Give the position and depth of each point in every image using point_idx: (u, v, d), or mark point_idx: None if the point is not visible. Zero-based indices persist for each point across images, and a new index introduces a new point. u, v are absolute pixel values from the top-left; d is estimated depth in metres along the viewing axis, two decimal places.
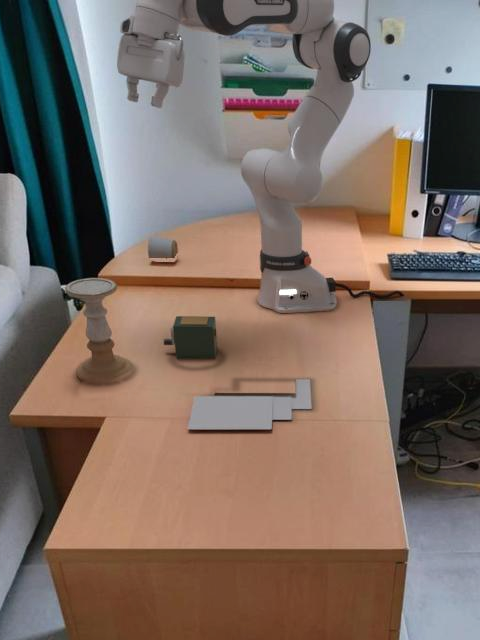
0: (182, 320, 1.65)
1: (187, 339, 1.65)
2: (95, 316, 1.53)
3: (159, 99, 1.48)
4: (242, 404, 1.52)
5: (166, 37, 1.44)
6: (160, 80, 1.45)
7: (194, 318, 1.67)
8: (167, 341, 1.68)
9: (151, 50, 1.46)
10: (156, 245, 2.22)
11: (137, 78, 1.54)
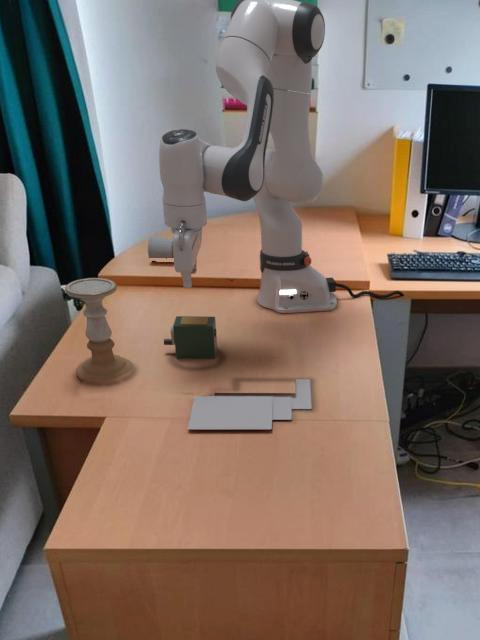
0: (182, 320, 1.65)
1: (187, 339, 1.65)
2: (95, 316, 1.53)
3: (187, 281, 1.55)
4: (242, 404, 1.52)
5: None
6: None
7: (194, 318, 1.67)
8: (167, 341, 1.68)
9: None
10: (156, 245, 2.22)
11: None
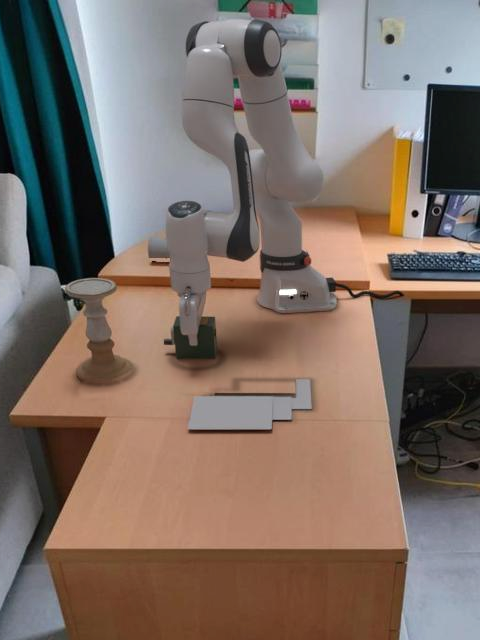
0: None
1: (187, 339, 1.65)
2: (95, 316, 1.53)
3: (193, 339, 1.64)
4: (242, 404, 1.52)
5: None
6: None
7: None
8: (167, 341, 1.68)
9: None
10: (156, 245, 2.22)
11: None
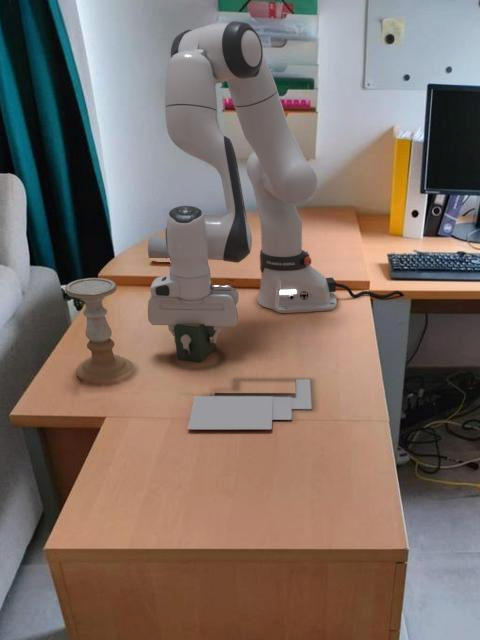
0: (189, 324, 1.63)
1: (204, 338, 1.66)
2: (95, 316, 1.53)
3: None
4: (242, 404, 1.52)
5: (214, 289, 1.61)
6: (225, 325, 1.65)
7: None
8: (186, 351, 1.63)
9: (201, 304, 1.62)
10: (156, 245, 2.22)
11: None
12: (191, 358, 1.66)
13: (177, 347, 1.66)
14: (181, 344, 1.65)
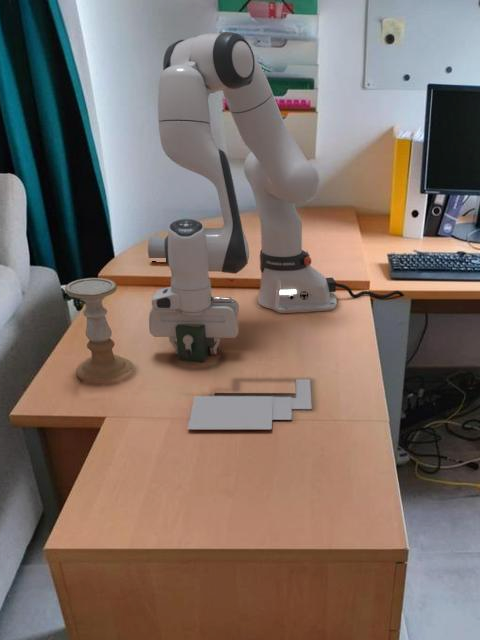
0: (191, 324, 1.63)
1: (205, 338, 1.66)
2: (95, 316, 1.53)
3: (216, 347, 1.69)
4: (242, 404, 1.52)
5: (214, 301, 1.63)
6: (226, 337, 1.66)
7: None
8: (189, 351, 1.63)
9: (202, 315, 1.63)
10: (156, 245, 2.22)
11: None
12: (193, 358, 1.66)
13: (178, 348, 1.65)
14: (183, 344, 1.65)
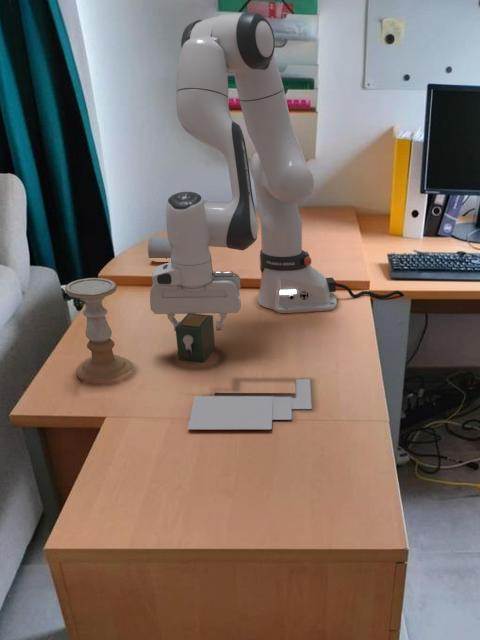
0: (191, 324, 1.63)
1: (205, 338, 1.66)
2: (95, 316, 1.53)
3: (222, 323, 1.67)
4: (242, 404, 1.52)
5: (215, 276, 1.60)
6: (229, 312, 1.64)
7: (189, 320, 1.66)
8: (189, 351, 1.63)
9: (204, 291, 1.60)
10: (156, 245, 2.22)
11: None
12: (193, 358, 1.66)
13: (179, 348, 1.65)
14: (183, 344, 1.65)
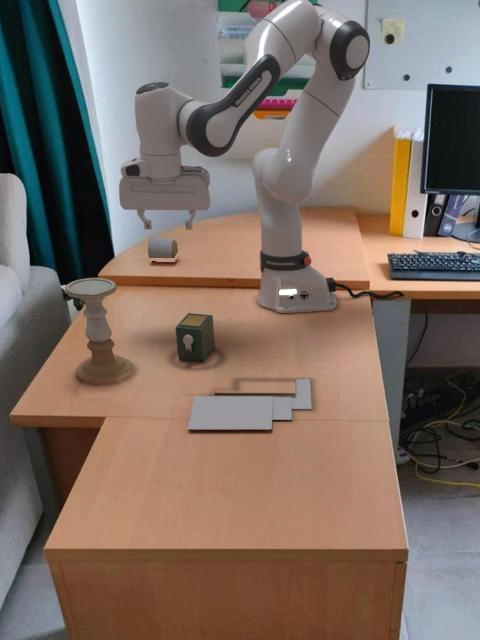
0: (191, 324, 1.63)
1: (205, 338, 1.66)
2: (95, 316, 1.53)
3: (191, 222, 1.68)
4: (242, 404, 1.52)
5: (184, 170, 1.61)
6: (198, 209, 1.65)
7: (189, 320, 1.66)
8: (189, 351, 1.63)
9: (173, 185, 1.61)
10: (156, 245, 2.22)
11: None
12: (193, 358, 1.66)
13: (179, 348, 1.65)
14: (183, 344, 1.65)
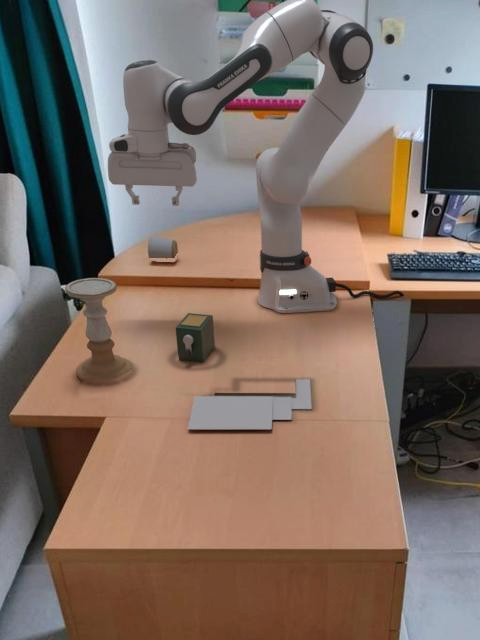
0: (191, 324, 1.63)
1: (205, 338, 1.66)
2: (95, 316, 1.53)
3: (178, 198, 1.73)
4: (242, 404, 1.52)
5: (171, 147, 1.66)
6: (184, 185, 1.70)
7: (189, 320, 1.66)
8: (189, 351, 1.63)
9: (160, 161, 1.66)
10: (156, 245, 2.22)
11: None
12: (193, 358, 1.66)
13: (179, 348, 1.65)
14: (183, 344, 1.65)
